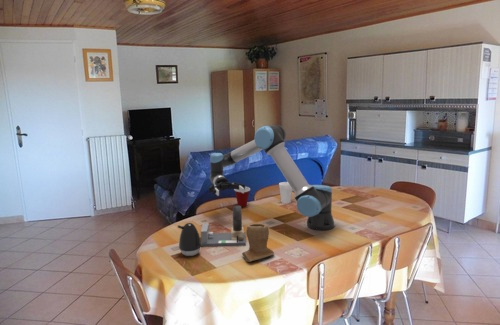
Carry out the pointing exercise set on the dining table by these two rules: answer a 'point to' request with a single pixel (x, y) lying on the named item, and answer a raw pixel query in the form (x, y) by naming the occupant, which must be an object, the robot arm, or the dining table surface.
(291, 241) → the dining table surface
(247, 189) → the plastic cup
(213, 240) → the gauge base
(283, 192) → the foam cup
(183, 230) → the pump dispenser
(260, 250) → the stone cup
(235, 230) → the gauge slider
